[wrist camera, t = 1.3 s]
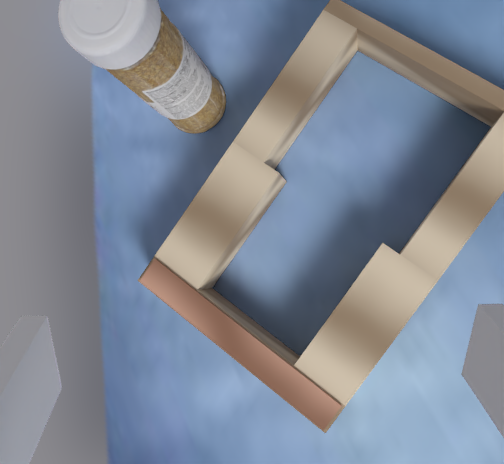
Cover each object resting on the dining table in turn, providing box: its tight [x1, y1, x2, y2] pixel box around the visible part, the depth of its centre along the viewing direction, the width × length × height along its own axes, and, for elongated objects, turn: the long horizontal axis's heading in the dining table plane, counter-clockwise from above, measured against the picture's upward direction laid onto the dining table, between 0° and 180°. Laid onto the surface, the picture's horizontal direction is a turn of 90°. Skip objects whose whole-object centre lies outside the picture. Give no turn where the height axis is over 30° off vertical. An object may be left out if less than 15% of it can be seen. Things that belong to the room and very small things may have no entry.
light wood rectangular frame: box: [138, 0, 504, 433], centre depth 30 cm, size 22×15×3 cm
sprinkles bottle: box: [58, 0, 226, 133], centre depth 28 cm, size 5×5×14 cm
